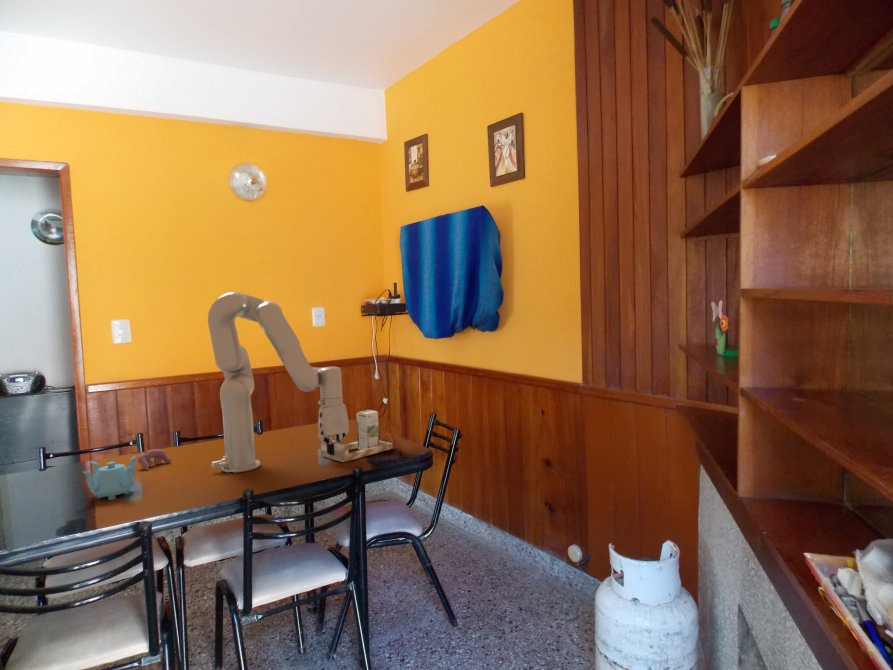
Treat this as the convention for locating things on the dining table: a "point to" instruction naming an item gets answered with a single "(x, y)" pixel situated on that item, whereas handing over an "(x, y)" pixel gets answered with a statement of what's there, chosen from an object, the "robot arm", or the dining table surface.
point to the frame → (343, 448)
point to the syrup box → (367, 429)
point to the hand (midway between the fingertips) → (334, 453)
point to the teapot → (111, 479)
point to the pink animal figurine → (155, 454)
